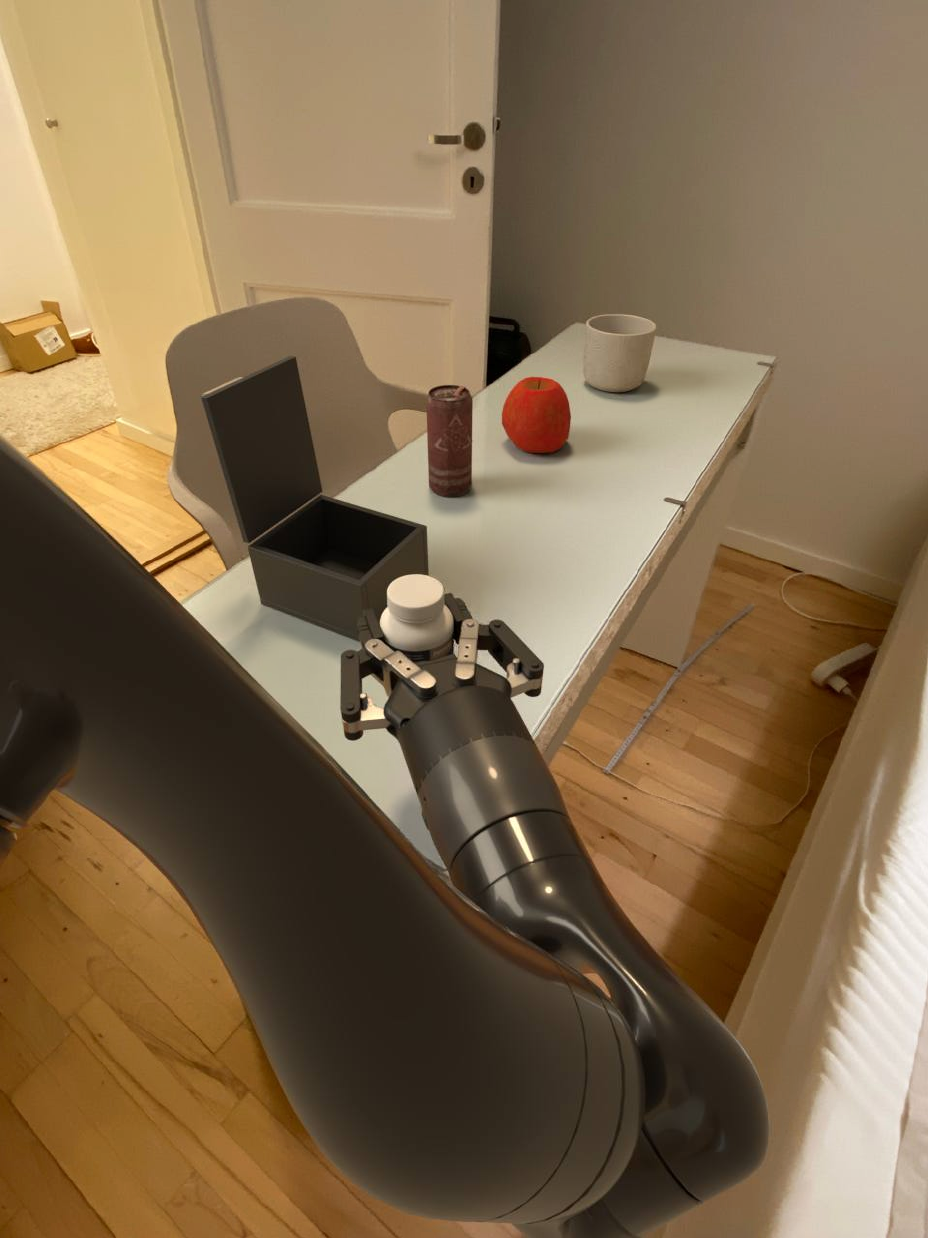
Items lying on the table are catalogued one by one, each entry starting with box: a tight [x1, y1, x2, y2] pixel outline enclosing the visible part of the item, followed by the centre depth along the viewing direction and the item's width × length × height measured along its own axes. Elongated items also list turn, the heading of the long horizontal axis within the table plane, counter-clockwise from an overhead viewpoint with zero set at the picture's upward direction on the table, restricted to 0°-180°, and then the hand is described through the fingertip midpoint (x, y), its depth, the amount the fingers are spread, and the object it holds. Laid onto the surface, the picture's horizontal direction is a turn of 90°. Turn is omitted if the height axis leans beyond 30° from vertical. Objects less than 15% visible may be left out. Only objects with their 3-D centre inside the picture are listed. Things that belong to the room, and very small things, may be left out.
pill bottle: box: [380, 574, 455, 699], centre depth 50 cm, size 5×5×10 cm
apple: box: [501, 376, 572, 454], centre depth 105 cm, size 11×11×11 cm
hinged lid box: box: [247, 494, 430, 643], centre depth 76 cm, size 15×13×8 cm
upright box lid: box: [200, 355, 324, 544], centre depth 72 cm, size 16×13×5 cm
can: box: [425, 384, 474, 498], centre depth 93 cm, size 6×6×14 cm
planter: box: [582, 313, 657, 393], centre depth 125 cm, size 12×12×11 cm
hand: (407, 610), depth 51 cm, fingers closed on pill bottle, 5 cm apart
